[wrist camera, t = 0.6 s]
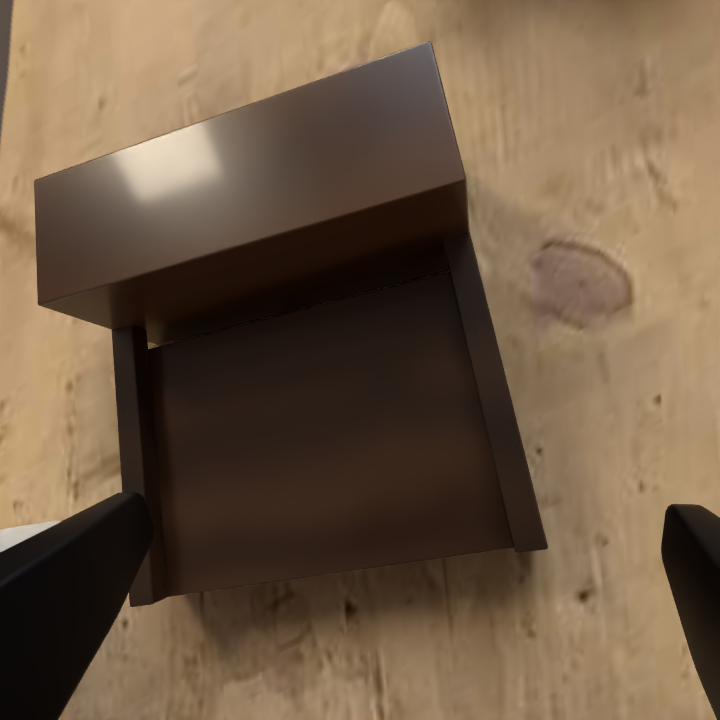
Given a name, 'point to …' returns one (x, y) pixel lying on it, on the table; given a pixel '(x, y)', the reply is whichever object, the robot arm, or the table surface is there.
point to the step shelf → (296, 335)
